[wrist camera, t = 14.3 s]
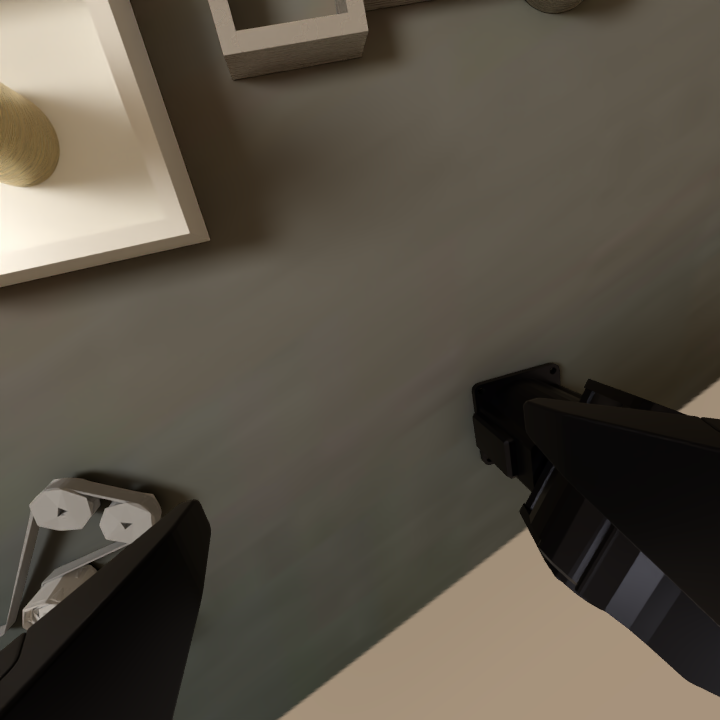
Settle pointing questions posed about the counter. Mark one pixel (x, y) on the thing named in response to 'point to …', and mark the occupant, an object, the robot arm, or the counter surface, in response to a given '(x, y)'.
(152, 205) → the parts tray
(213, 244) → the counter surface
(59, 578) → the pulley system
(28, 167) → the pin
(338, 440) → the counter surface
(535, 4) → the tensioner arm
